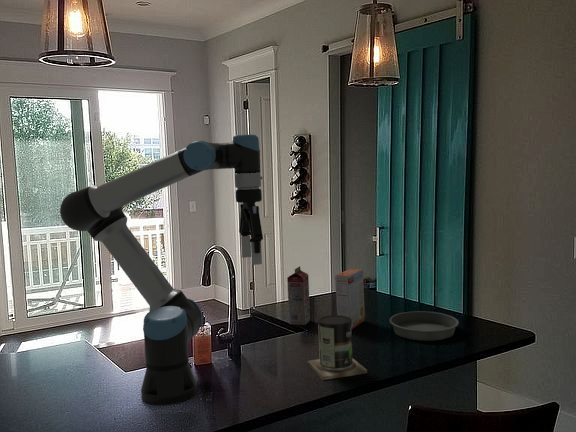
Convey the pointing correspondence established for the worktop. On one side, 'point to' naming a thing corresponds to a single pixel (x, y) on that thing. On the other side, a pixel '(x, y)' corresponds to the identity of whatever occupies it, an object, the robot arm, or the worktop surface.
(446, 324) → the cake pan
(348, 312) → the cracker box
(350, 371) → the rest board
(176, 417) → the worktop surface
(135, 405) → the worktop surface
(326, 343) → the coffee can
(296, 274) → the juice carton
